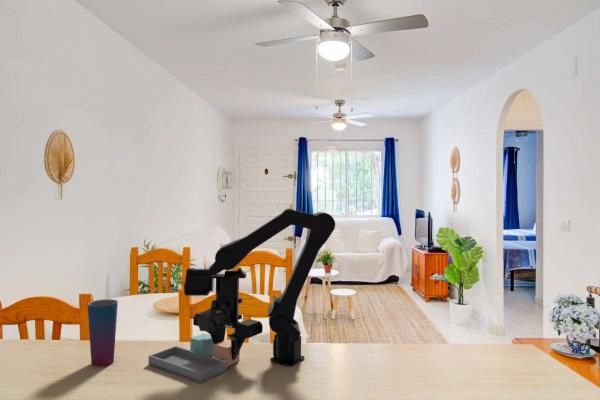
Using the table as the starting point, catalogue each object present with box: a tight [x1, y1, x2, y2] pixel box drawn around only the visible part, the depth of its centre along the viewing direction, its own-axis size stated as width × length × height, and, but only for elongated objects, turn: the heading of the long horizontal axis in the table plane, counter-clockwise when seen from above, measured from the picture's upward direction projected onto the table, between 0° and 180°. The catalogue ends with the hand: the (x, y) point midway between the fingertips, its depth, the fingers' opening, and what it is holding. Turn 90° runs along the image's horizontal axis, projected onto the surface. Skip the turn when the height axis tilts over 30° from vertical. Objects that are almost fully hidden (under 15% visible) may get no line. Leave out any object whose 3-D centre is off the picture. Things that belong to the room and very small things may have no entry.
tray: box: [148, 345, 228, 384], centre depth 106 cm, size 18×8×2 cm, turn 56°
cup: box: [87, 298, 119, 368], centre depth 108 cm, size 7×7×15 cm
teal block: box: [189, 333, 214, 357], centre depth 115 cm, size 4×4×4 cm
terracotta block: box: [213, 338, 241, 367], centre depth 110 cm, size 4×4×4 cm
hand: (226, 357), depth 111 cm, fingers closed on terracotta block, 4 cm apart
